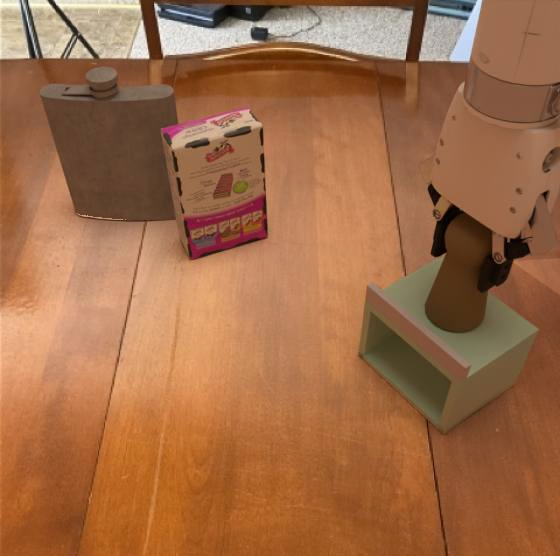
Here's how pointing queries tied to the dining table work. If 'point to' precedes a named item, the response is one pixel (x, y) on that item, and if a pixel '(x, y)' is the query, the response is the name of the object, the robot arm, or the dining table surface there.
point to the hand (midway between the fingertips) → (466, 266)
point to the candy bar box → (217, 181)
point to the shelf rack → (441, 350)
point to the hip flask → (113, 145)
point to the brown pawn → (460, 276)
